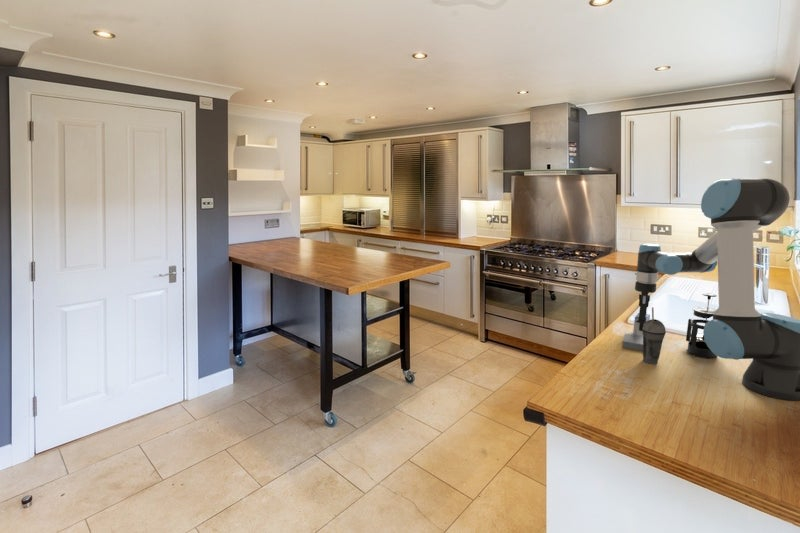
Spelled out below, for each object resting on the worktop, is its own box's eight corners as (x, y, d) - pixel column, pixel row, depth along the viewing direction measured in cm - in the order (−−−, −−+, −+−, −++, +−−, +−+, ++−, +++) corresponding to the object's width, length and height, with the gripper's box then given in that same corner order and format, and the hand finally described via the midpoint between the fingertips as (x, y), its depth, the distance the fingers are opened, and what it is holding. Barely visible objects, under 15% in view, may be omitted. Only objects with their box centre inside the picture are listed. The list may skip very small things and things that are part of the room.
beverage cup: (665, 366, 149) (672, 311, 145) (642, 364, 151) (648, 310, 147) (657, 358, 156) (663, 305, 152) (635, 356, 158) (641, 304, 154)
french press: (725, 358, 156) (734, 296, 152) (704, 360, 154) (713, 298, 150) (696, 346, 167) (704, 289, 163) (676, 348, 165) (683, 290, 161)
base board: (655, 354, 161) (656, 346, 161) (622, 348, 167) (623, 341, 166) (655, 345, 170) (656, 338, 169) (624, 340, 175) (624, 333, 175)
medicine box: (636, 331, 184) (638, 312, 183) (648, 333, 182) (650, 314, 180) (632, 336, 178) (634, 316, 177) (644, 339, 176) (646, 318, 174)
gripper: (636, 276, 186) (631, 325, 191) (634, 285, 169) (628, 340, 173) (656, 277, 183) (651, 328, 187) (656, 288, 165) (650, 344, 169)
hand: (640, 334), depth 180 cm, fingers closed on medicine box, 8 cm apart
